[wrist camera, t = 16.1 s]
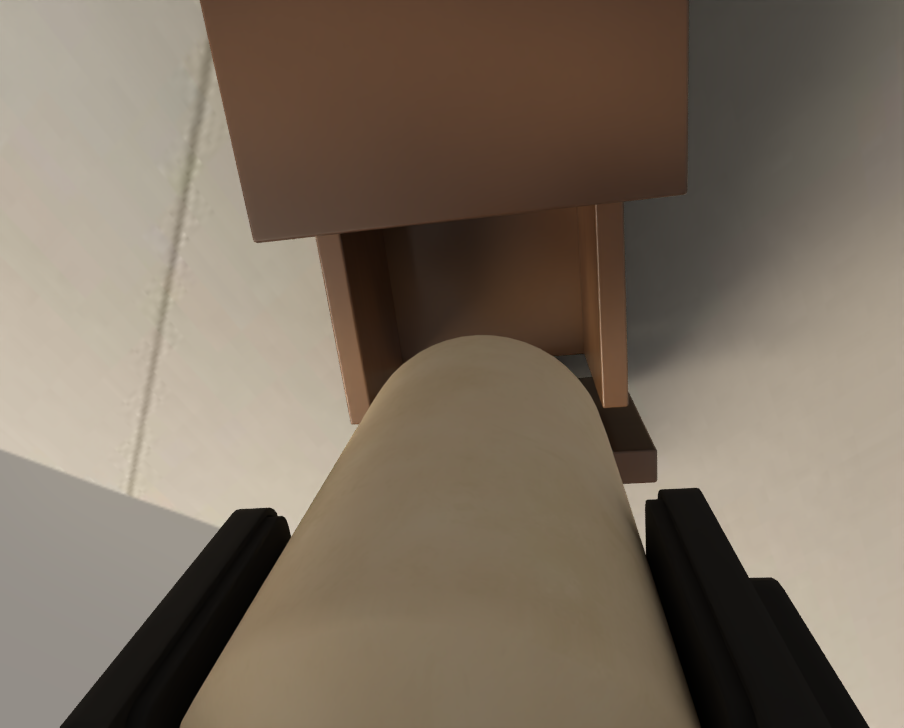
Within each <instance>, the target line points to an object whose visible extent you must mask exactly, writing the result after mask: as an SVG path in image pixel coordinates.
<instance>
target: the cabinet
mask: <svg viewBox="0 0 904 728" xmlns="http://www.w3.org/2000/svg"><path fill="white" fill-rule="evenodd" d="M200 3H201V8H202V12H203V17H204V21H205V26H206V30H207V35H208V39H209V44H210V48H211V53H212V57H213V62H214V66H215V70H216V75H217V79H218V84H219V88H220V93H221V97H222V102H223V106H224V111H225V115H226V120H227V124H228V129H229V133H230V138H231V142H232V147H233V151H234V156H235V160H236V165H237V169H238V173H239V178H240V182H241V187H242V191H243V196H244V200H245V205H246V209H247V214H248V218H249V223H250V227H251V232H252V236H253V240H254V242H256V243H262V242H271V241H279V240H288V239H297V238H306V237H315V236H324V235H333V234H341V233H350V232H359V231H368V230H377V229H386V228H395V227H403V226H412V225H421V224H430V223H439V222H448V221H457V220H465V219H474V218H483V217H492V216H501V215H510V214H519V213H527V212H536V211H545V210H554V209H563V208H572V207H581V206H589V205H598V204H607V203H616V202H625V201H634V200H643V199H651V198H660V197H669V196H678V195H684V194H686V193H687V177H688V62H689V0H200Z"/></svg>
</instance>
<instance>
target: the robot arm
mask: <svg viewBox="0 0 904 728" xmlns="http://www.w3.org/2000/svg"><path fill="white" fill-rule="evenodd" d="M645 524H646V557H647V560H648V564H649V567H650V570H651V573H652V576H653V579H654V582H655V585H656V588H657V591H658V595H659V598H660V601H661V604H662V607H663V610H664V613H665V616H666V619H667V622H668V626H669V629H670V632H671V635H672V638H673V641H674V644H675V647H676V650H677V653H678V657H679V660H680V663H681V666H682V669H683V672H684V675H685V678H686V681H687V684H688V687H689V691H690V694H691V697H692V700H693V703H694V706H695V709H696V712H697V715H698V719H699V722H700V725H701V728H869V726H868V724H867V723H866V721H865V720H864V718H863V716H862V715H861V713H860V712H859V710H858V708H857V707H856V705H855V703H854V702H853V700H852V699H851V697H850V695H849V694H848V692H847V690H846V689H845V687H844V686H843V684H842V682H841V681H840V679H839V678H838V676H837V674H836V673H835V671H834V669H833V668H832V666H831V665H830V663H829V661H828V660H827V658H826V657H825V655H824V653H823V652H822V650H821V648H820V647H819V645H818V644H817V642H816V640H815V639H814V637H813V636H812V634H811V632H810V631H809V629H808V627H807V626H806V624H805V623H804V621H803V619H802V618H801V616H800V615H799V613H798V611H797V610H796V608H795V606H794V605H793V603H792V602H791V600H790V598H789V597H788V595H787V594H786V592H785V590H784V589H783V587H782V586H781V585H780V584H779V582H778V581H777V580H775V579H773V578H772V577H771V578H749V577H748V575H747V573H746V571H745V570H744V568H743V566H742V564H741V562H740V561H739V559H738V557H737V555H736V553H735V552H734V550H733V548H732V546H731V544H730V542H729V541H728V539H727V537H726V535H725V533H724V532H723V530H722V528H721V526H720V524H719V523H718V521H717V519H716V517H715V515H714V514H713V512H712V510H711V508H710V506H709V504H708V503H707V501H706V499H705V497H704V495H703V494H702V492H701V491H700V489H699V488H684V489H662V490H659V492H658V499H656V500H646V504H645ZM290 538H291V535H290V531H289V526H288V523H287V520H286V519H285V517H283V516H277V513H276V512H275V510H274V509H272V508H255V509H239V510H236V511H235V512H234V513H232V515H231V516H230V517H229V518H228V520H227V521H226V522H225V523H224V525H223V526H222V527H221V528H220V530H219V531H218V532H217V533H216V534H215V536H214V537H213V538H212V539H211V541H210V542H209V543H208V544H207V546H206V547H205V548H204V549H203V551H202V552H201V553H200V554H199V556H198V557H197V558H196V559H195V560H194V562H193V563H192V564H191V566H190V567H189V568H188V569H187V570H186V572H185V573H184V574H183V576H182V577H181V578H180V579H179V580H178V582H177V583H176V584H175V585H174V587H173V588H172V589H171V590H170V591H169V593H168V594H167V595H166V596H165V598H164V599H163V600H162V601H161V603H160V604H159V605H158V606H157V608H156V609H155V610H154V611H153V612H152V614H151V615H150V616H149V617H148V619H147V620H146V621H145V622H144V624H143V625H142V626H141V627H140V629H139V630H138V631H137V632H136V633H135V635H134V636H133V637H132V639H131V640H130V641H129V642H128V644H127V645H126V646H125V647H124V648H123V650H122V651H121V652H120V653H119V655H118V656H117V657H116V658H115V659H114V661H113V662H112V663H111V664H110V666H109V667H108V668H107V670H106V671H105V672H104V673H103V675H102V676H101V677H100V678H99V679H98V681H97V682H96V683H95V684H94V686H93V687H92V688H91V689H90V691H89V692H88V693H87V694H86V695H85V697H84V698H83V699H82V700H81V702H80V703H79V704H78V705H77V707H76V708H75V709H74V710H73V711H72V713H71V714H70V715H69V716H68V718H67V719H66V720H65V721H64V723H63V724H62V725H61V726H60V728H180V725H181V722H182V720H183V718H184V716H185V715H186V713H187V711H188V709H189V707H190V706H191V704H192V702H193V700H194V699H195V697H196V695H197V693H198V692H199V690H200V688H201V687H202V685H203V683H204V682H205V680H206V678H207V677H208V675H209V673H210V672H211V670H212V668H213V667H214V665H215V663H216V662H217V660H218V658H219V657H220V655H221V653H222V652H223V650H224V648H225V647H226V645H227V643H228V642H229V640H230V638H231V637H232V635H233V633H234V632H235V630H236V628H237V627H238V625H239V623H240V622H241V620H242V618H243V617H244V615H245V613H246V612H247V610H248V608H249V607H250V605H251V603H252V602H253V600H254V598H255V597H256V595H257V593H258V592H259V590H260V588H261V587H262V585H263V583H264V582H265V580H266V578H267V577H268V575H269V573H270V572H271V570H272V568H273V567H274V565H275V563H276V562H277V560H278V558H279V557H280V555H281V553H282V552H283V550H284V548H285V547H286V545H287V543H288V542H289V540H290Z"/></svg>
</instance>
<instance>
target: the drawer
mask: <svg viewBox="0 0 904 728" xmlns="http://www.w3.org/2000/svg"><path fill="white" fill-rule="evenodd" d="M315 237H316V242H317V247H318V252H319V258H320V263H321V268H322V273H323V279H324V284H325V289H326V295H327V300H328V305H329V310H330V316H331V321H332V326H333V331H334V337H335V342H336V347H337V352H338V358H339V363H340V368H341V374H342V379H343V384H344V389H345V395H346V400H347V405H348V410H349V416H350V421H351V424H360V422H361V420H362V419H363V417H364V415H365V414H366V412H367V410H368V409H369V407H370V405H371V404H372V402H373V401H374V399H375V397H376V396H377V394H378V393H379V391H380V390H381V388H382V387H383V386H384V384H385V383H386V382H387V380H388V379H389V378H390V377H391V375H392V374H393V373H394V372H395V371H396V370H397V369H398V368H399V367H401V366H402V365H403V364H404V363H405V362H407V361H408V360H409V359H411V358H412V357H414V356H415V355H416V354H418V353H419V352H421V351H423V350H425V349H427V348H429V347H431V346H433V345H435V344H438V343H441V342H443V341H446V340H450V339H454V338H458V337H464V336H474V335H494V336H500V337H507V338H512V339H515V340H519V341H522V342H525V343H528V344H530V345H533V346H535V347H537V348H540V349H541V350H543V351H545V352H546V353H548V354H550V355H552V356H562V355H575V354H584V355H585V357H586V360H587V363H588V366H589V369H590V372H591V375H592V377H585V378H578V379H579V380H580V382H581V383H582V384H583V386H584V387H585V388H586V390H587V391H588V393H589V394H590V396H591V398H592V400H593V401H594V403H595V405H596V407H597V410H598V412H599V415H600V418H601V420H602V423H603V426H604V428H605V431H606V434H607V437H608V440H609V443H610V446H611V449H612V452H613V455H614V458H615V461H616V464H617V467H618V471H619V474H620V477H621V480H622V483H623V484H630V483H650V482H656V481H657V450H656V448H655V446H654V444H653V442H652V440H651V437H650V435H649V433H648V431H647V429H646V427H645V425H644V423H643V421H642V419H641V417H640V415H639V412H638V410H637V408H636V406H635V404H634V402H633V400H632V398H631V396H630V394H629V392H628V363H627V323H626V283H625V242H624V202H616V203H607V204H598V205H589V206H581V207H572V208H563V209H554V210H545V211H536V212H527V213H519V214H510V215H501V216H492V217H483V218H474V219H465V220H457V221H448V222H439V223H430V224H421V225H412V226H403V227H395V228H386V229H377V230H368V231H359V232H350V233H341V234H333V235H324V236H315Z"/></svg>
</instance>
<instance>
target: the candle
mask: <svg viewBox="0 0 904 728" xmlns="http://www.w3.org/2000/svg"><path fill="white" fill-rule="evenodd" d="M180 728H701V725H700V722H699V719H698V715H697V712H696V709H695V706H694V703H693V700H692V697H691V694H690V691H689V687H688V684H687V681H686V678H685V675H684V672H683V669H682V666H681V663H680V660H679V657H678V653H677V650H676V647H675V644H674V641H673V638H672V635H671V632H670V629H669V626H668V622H667V619H666V616H665V613H664V610H663V607H662V604H661V601H660V598H659V595H658V591H657V588H656V585H655V582H654V579H653V576H652V573H651V570H650V567H649V564H648V560H647V557H646V554H645V551H644V548H643V545H642V542H641V539H640V536H639V533H638V529H637V526H636V523H635V520H634V517H633V514H632V511H631V508H630V505H629V502H628V498H627V495H626V492H625V489H624V486H623V483H622V480H621V477H620V474H619V471H618V467H617V464H616V461H615V458H614V455H613V452H612V449H611V446H610V443H609V440H608V437H607V434H606V431H605V428H604V426H603V423H602V420H601V418H600V415H599V412H598V410H597V407H596V405H595V403H594V401H593V400H592V398H591V396H590V394H589V393H588V391H587V390H586V388H585V387H584V386H583V384H582V383H581V382H580V380H579V379H578V378H577V377H576V376H575V375H574V374H573V373H572V372H571V371H570V370H569V369H568V368H567V367H566V366H565V365H564V364H562V363H561V362H560V361H558V360H557V359H556V358H555V357H553V356H552V355H550V354H548V353H546V352H545V351H543V350H541V349H540V348H537V347H535V346H533V345H530V344H528V343H525V342H522V341H519V340H515V339H512V338H507V337H500V336H494V335H474V336H464V337H458V338H454V339H450V340H446V341H443V342H441V343H438V344H435V345H433V346H431V347H429V348H427V349H425V350H423V351H421V352H419V353H418V354H416V355H415V356H414V357H412V358H411V359H409V360H408V361H407V362H405V363H404V364H403V365H402V366H401V367H399V368H398V369H397V370H396V371H395V372H394V373H393V374H392V375H391V377H390V378H389V379H388V380H387V382H386V383H385V384H384V386H383V387H382V388H381V390H380V391H379V393H378V394H377V396H376V397H375V399H374V401H373V402H372V404H371V405H370V407H369V409H368V410H367V412H366V414H365V415H364V417H363V419H362V420H361V422H360V424H359V425H358V427H357V429H356V430H355V432H354V434H353V435H352V437H351V439H350V440H349V442H348V444H347V445H346V447H345V449H344V450H343V452H342V454H341V455H340V457H339V459H338V460H337V462H336V464H335V465H334V467H333V469H332V470H331V472H330V474H329V475H328V477H327V479H326V480H325V482H324V484H323V485H322V487H321V489H320V490H319V492H318V494H317V495H316V497H315V499H314V500H313V502H312V504H311V505H310V507H309V509H308V510H307V512H306V514H305V515H304V517H303V518H302V520H301V522H300V523H299V525H298V527H297V528H296V530H295V532H294V533H293V535H292V537H291V538H290V540H289V542H288V543H287V545H286V547H285V548H284V550H283V552H282V553H281V555H280V557H279V558H278V560H277V562H276V563H275V565H274V567H273V568H272V570H271V572H270V573H269V575H268V577H267V578H266V580H265V582H264V583H263V585H262V587H261V588H260V590H259V592H258V593H257V595H256V597H255V598H254V600H253V602H252V603H251V605H250V607H249V608H248V610H247V612H246V613H245V615H244V617H243V618H242V620H241V622H240V623H239V625H238V627H237V628H236V630H235V632H234V633H233V635H232V637H231V638H230V640H229V642H228V643H227V645H226V647H225V648H224V650H223V652H222V653H221V655H220V657H219V658H218V660H217V662H216V663H215V665H214V667H213V668H212V670H211V672H210V673H209V675H208V677H207V678H206V680H205V682H204V683H203V685H202V687H201V688H200V690H199V692H198V693H197V695H196V697H195V699H194V700H193V702H192V704H191V706H190V707H189V709H188V711H187V713H186V715H185V716H184V718H183V720H182V722H181V725H180Z"/></svg>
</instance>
